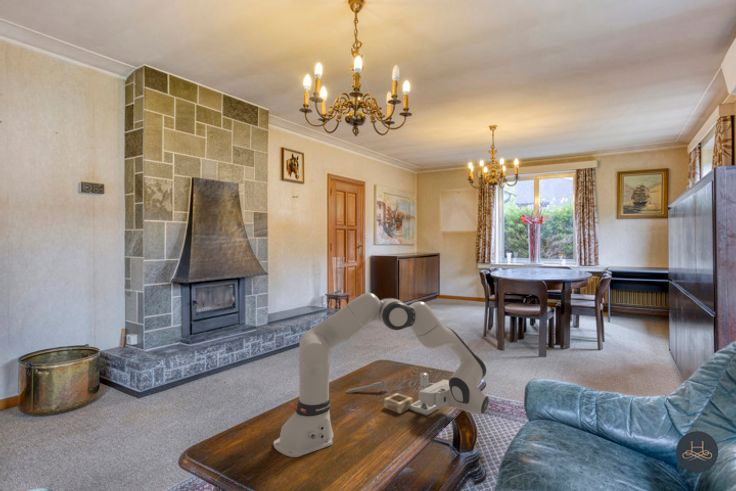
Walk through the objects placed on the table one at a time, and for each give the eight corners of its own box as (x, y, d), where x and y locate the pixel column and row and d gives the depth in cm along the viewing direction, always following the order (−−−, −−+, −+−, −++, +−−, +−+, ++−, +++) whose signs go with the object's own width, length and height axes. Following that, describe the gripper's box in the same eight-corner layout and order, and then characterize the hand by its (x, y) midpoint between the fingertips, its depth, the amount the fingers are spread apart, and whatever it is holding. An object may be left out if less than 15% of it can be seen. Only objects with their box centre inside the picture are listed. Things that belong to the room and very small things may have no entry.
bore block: (400, 413, 167) (400, 404, 167) (384, 407, 173) (384, 398, 173) (412, 407, 174) (412, 398, 174) (397, 401, 180) (397, 392, 180)
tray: (426, 415, 165) (426, 410, 165) (409, 409, 171) (409, 404, 171) (438, 409, 172) (438, 404, 172) (421, 403, 178) (421, 398, 178)
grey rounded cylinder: (425, 410, 169) (425, 375, 169) (418, 408, 171) (418, 373, 171) (430, 407, 172) (430, 373, 172) (423, 405, 174) (423, 371, 174)
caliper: (386, 391, 193) (386, 378, 193) (387, 392, 192) (387, 379, 192) (345, 392, 192) (345, 379, 192) (345, 393, 191) (345, 380, 191)
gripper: (462, 380, 170) (435, 373, 180) (436, 393, 155) (408, 385, 165) (462, 394, 170) (435, 386, 180) (436, 409, 155) (408, 400, 165)
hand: (422, 386), depth 172 cm, fingers closed on grey rounded cylinder, 4 cm apart
